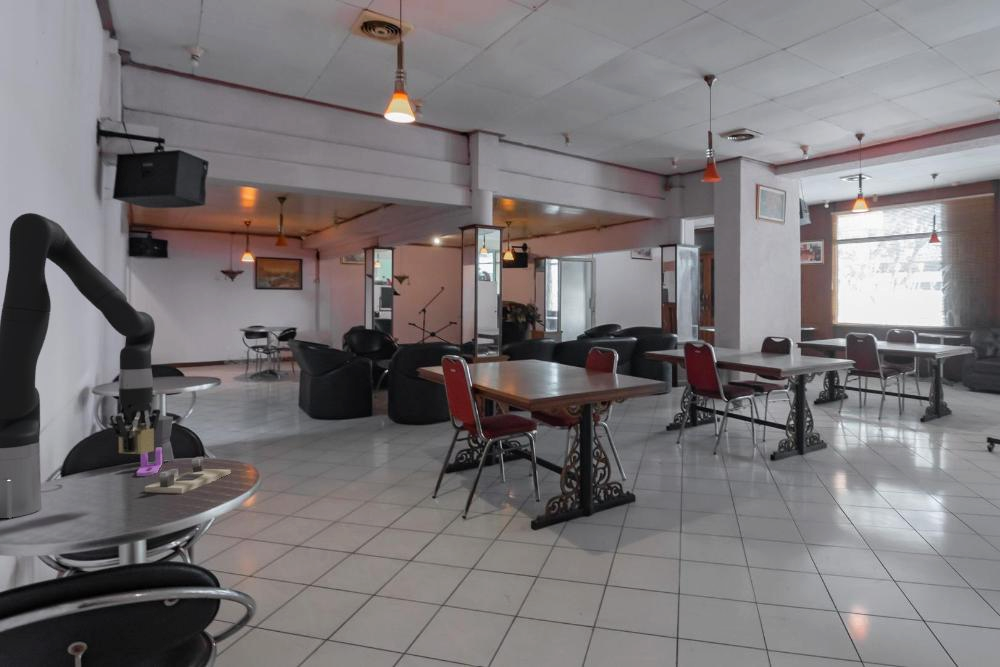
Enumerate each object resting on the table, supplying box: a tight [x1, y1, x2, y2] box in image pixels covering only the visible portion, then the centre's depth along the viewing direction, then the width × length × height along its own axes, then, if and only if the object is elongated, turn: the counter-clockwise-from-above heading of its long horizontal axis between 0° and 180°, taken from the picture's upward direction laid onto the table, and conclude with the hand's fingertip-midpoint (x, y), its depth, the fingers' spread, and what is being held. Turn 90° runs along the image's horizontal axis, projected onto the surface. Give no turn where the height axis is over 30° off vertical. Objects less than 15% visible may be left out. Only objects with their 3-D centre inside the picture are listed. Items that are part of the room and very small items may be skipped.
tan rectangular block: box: [118, 427, 154, 455], centre depth 146 cm, size 7×4×6 cm, turn 78°
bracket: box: [136, 447, 162, 477], centre depth 177 cm, size 13×6×7 cm, turn 24°
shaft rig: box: [144, 456, 232, 494], centre depth 162 cm, size 20×12×6 cm, turn 169°
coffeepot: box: [148, 414, 175, 462], centre depth 190 cm, size 15×9×18 cm, turn 4°
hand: (136, 450), depth 146 cm, fingers closed on tan rectangular block, 4 cm apart
